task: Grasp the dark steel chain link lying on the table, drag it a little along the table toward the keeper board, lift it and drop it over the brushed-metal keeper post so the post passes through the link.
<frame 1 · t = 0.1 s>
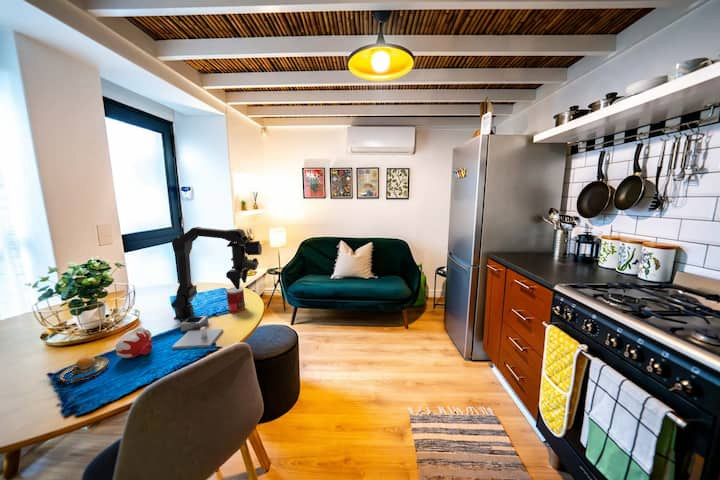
hand: (241, 285, 127), 15 cm above the table, fingers open, 9 cm apart
link: (195, 327, 116), on the table
canned food: (236, 309, 134), on the table
keeper: (199, 339, 106), on the table
ringed planet model: (86, 373, 87), on the table
red white ovoid: (137, 354, 96), on the table
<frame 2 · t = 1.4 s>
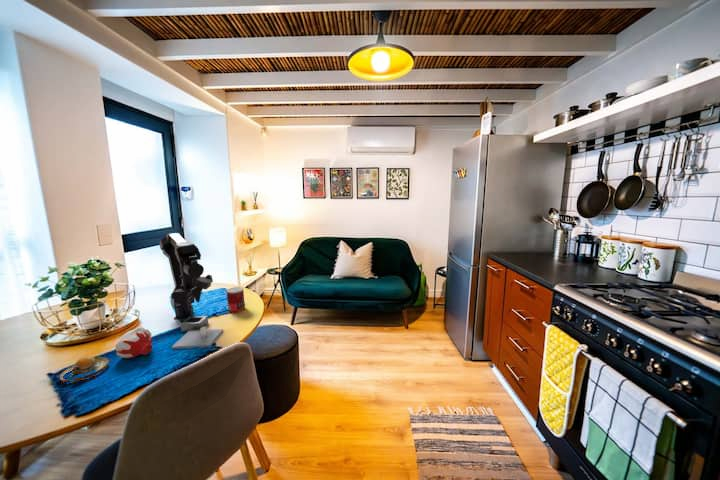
hand: (192, 305, 115), 10 cm above the table, fingers open, 9 cm apart
nothing on the table moved.
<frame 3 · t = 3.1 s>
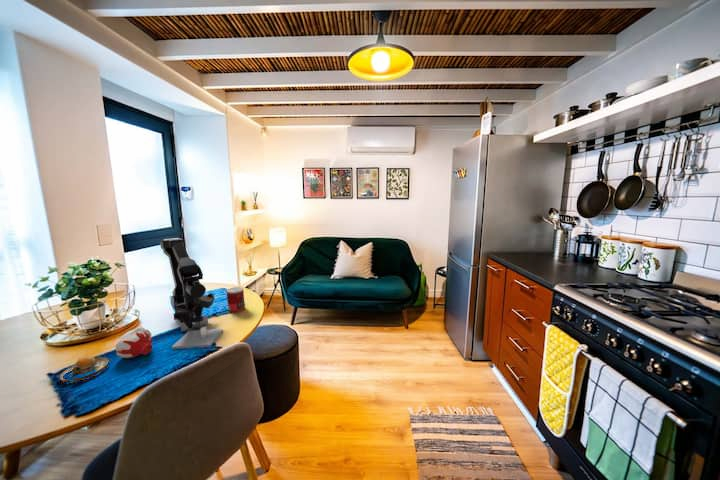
hand: (195, 324, 116), 1 cm above the table, fingers closed on link, 7 cm apart
link: (195, 327, 116), on the table, touching gripper
everything else where it was.
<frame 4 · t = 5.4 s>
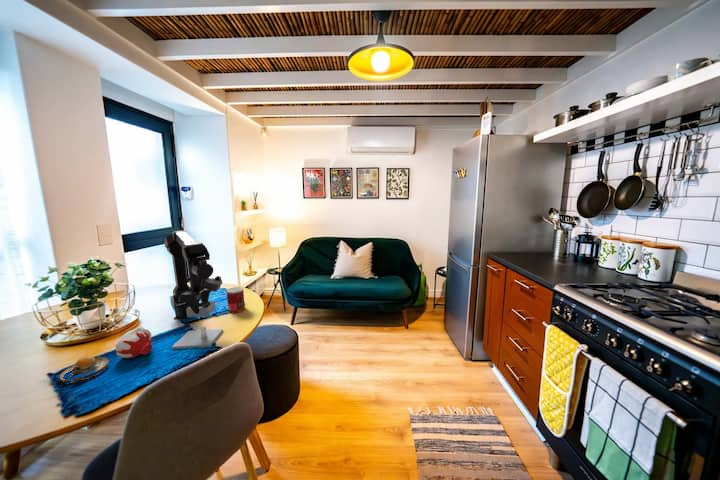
hand: (201, 309, 107), 12 cm above the table, fingers closed on link, 7 cm apart
link: (201, 312, 107), point 10 cm above the table, touching gripper
everything else where it was.
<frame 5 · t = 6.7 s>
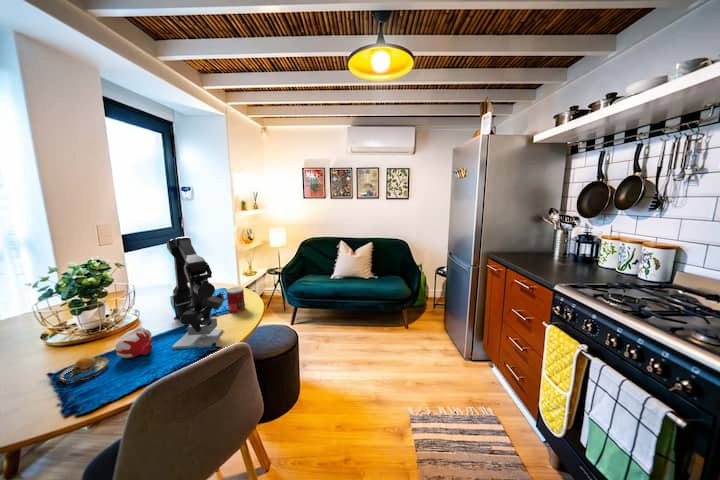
hand: (202, 327, 105), 5 cm above the table, fingers closed on link, 7 cm apart
link: (203, 330, 106), point 4 cm above the table, touching gripper
everything else where it was.
when the fingers open (5 cm above the table, at t = 7.8 s): link drops 2 cm, resting on keeper.
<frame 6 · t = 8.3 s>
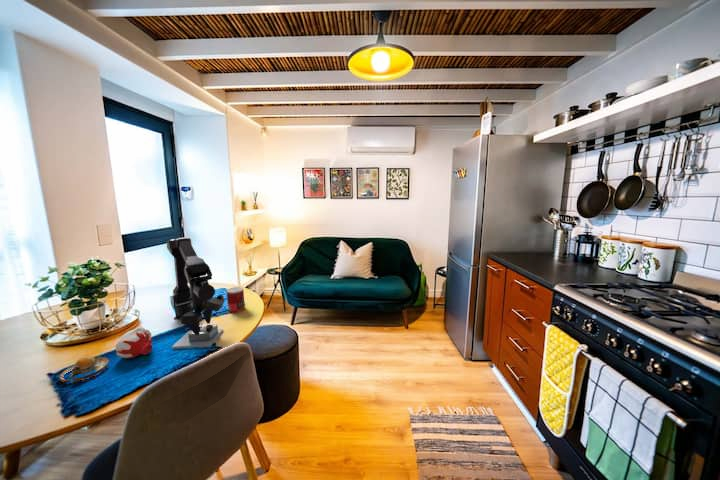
hand: (203, 328, 106), 5 cm above the table, fingers open, 9 cm apart
link: (204, 336, 106), point 1 cm above the table, touching keeper
everything else where it was.
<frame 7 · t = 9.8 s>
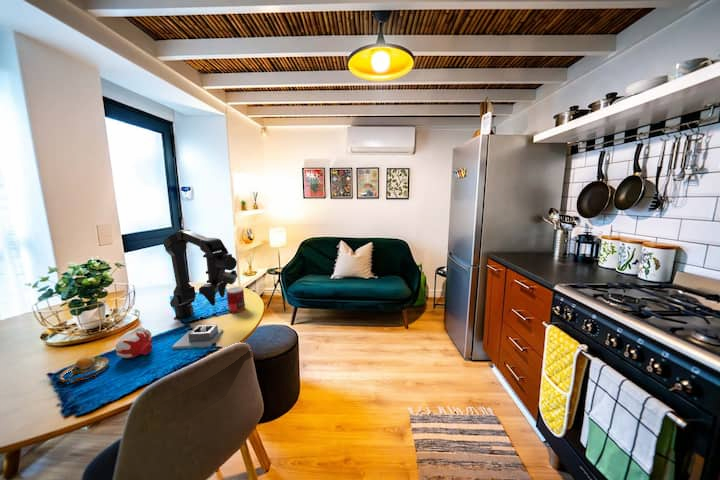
hand: (218, 301, 115), 12 cm above the table, fingers open, 9 cm apart
nothing on the table moved.
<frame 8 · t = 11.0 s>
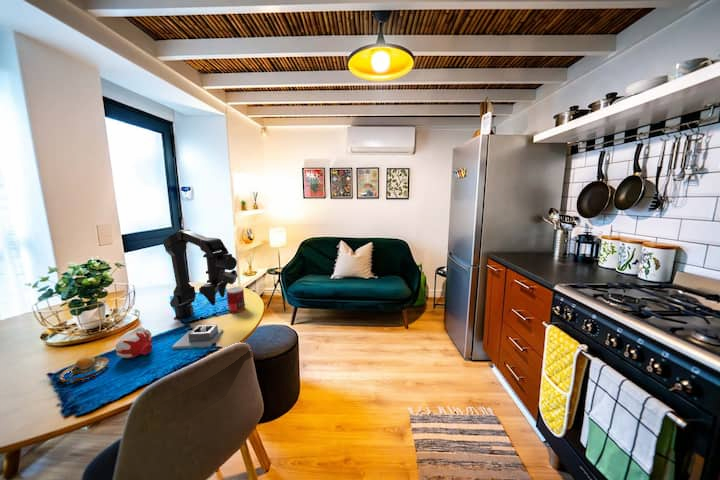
hand: (218, 301, 115), 12 cm above the table, fingers open, 9 cm apart
nothing on the table moved.
at the end: link 0.0 cm from the target spot on the keeper, point 1.0 cm above the keeper's base; the gripper is holding nothing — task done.
